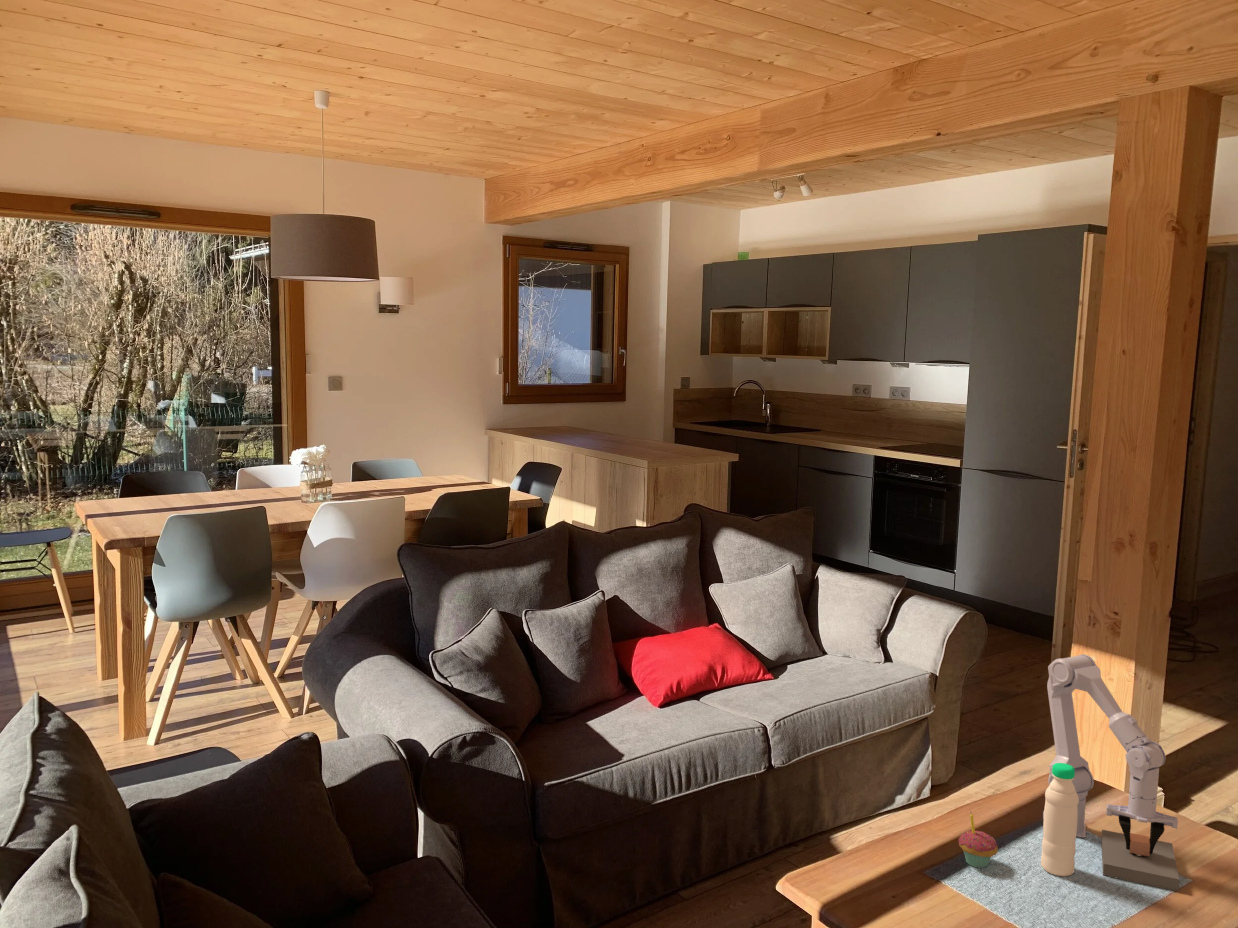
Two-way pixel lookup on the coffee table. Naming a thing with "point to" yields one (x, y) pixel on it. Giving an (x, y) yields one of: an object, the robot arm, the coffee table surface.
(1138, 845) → the orange rectangular block
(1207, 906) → the coffee table surface
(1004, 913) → the coffee table surface
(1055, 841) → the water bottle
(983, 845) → the cupcake
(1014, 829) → the coffee table surface
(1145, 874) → the base
